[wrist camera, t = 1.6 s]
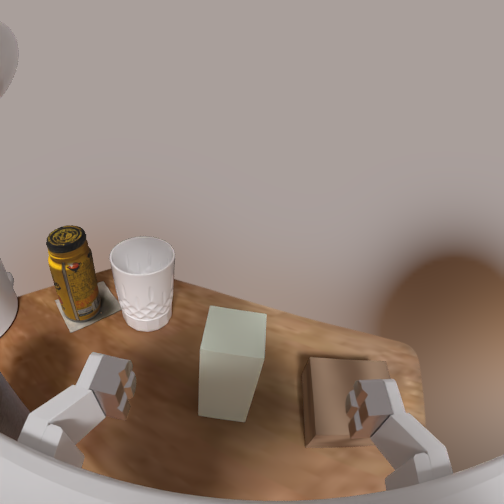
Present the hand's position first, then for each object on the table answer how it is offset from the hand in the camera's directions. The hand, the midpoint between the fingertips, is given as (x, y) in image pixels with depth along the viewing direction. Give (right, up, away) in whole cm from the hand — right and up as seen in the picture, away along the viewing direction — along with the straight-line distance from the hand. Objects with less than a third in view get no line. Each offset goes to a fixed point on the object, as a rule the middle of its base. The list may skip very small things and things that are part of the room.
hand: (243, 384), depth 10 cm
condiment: (-23, -3, +30) cm, 37 cm away
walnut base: (+11, -14, +22) cm, 28 cm away
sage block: (-3, -12, +22) cm, 25 cm away
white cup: (-14, -4, +31) cm, 34 cm away
